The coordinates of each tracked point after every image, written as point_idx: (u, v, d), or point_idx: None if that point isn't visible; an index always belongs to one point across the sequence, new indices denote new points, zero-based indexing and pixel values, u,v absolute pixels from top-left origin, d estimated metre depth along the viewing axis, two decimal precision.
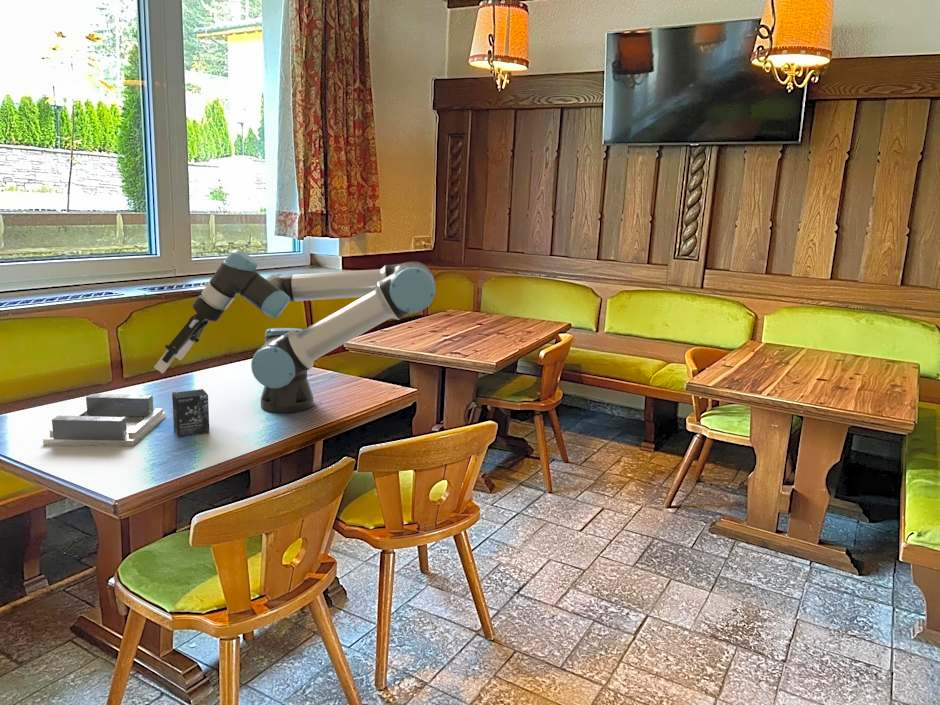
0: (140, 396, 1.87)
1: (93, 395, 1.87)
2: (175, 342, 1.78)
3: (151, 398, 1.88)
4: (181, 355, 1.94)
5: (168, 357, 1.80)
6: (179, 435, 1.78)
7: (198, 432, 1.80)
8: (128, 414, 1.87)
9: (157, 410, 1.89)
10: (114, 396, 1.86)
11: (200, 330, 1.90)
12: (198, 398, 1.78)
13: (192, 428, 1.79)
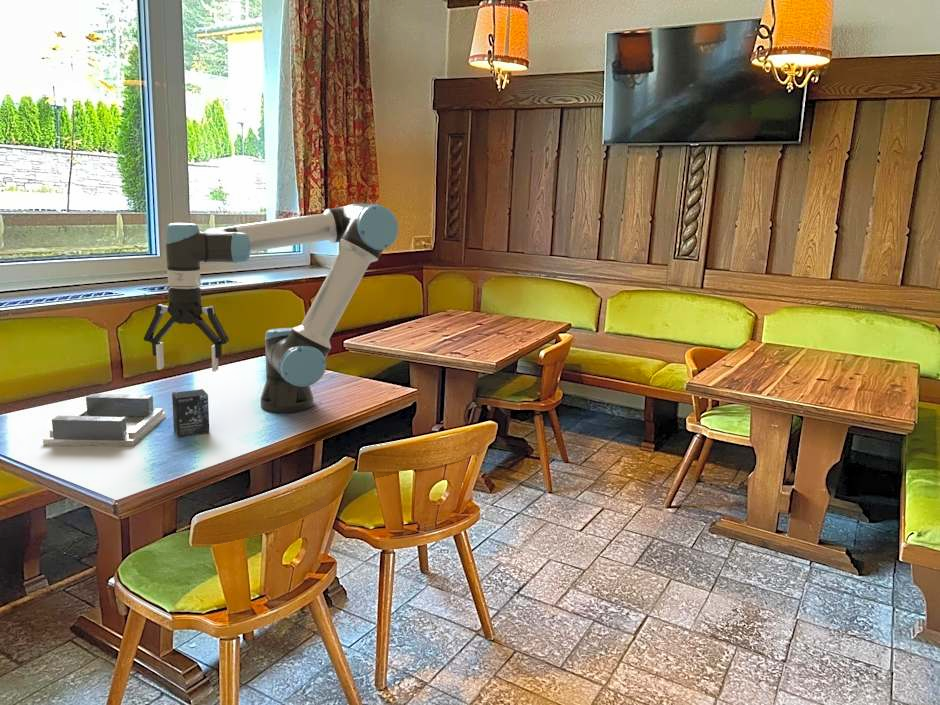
0: (140, 396, 1.87)
1: (93, 395, 1.87)
2: (223, 333, 1.76)
3: (151, 398, 1.88)
4: (162, 361, 1.78)
5: (221, 351, 1.78)
6: (179, 435, 1.78)
7: (198, 432, 1.80)
8: (128, 414, 1.87)
9: (157, 410, 1.89)
10: (114, 396, 1.86)
11: (175, 322, 1.77)
12: (197, 398, 1.78)
13: (192, 428, 1.79)
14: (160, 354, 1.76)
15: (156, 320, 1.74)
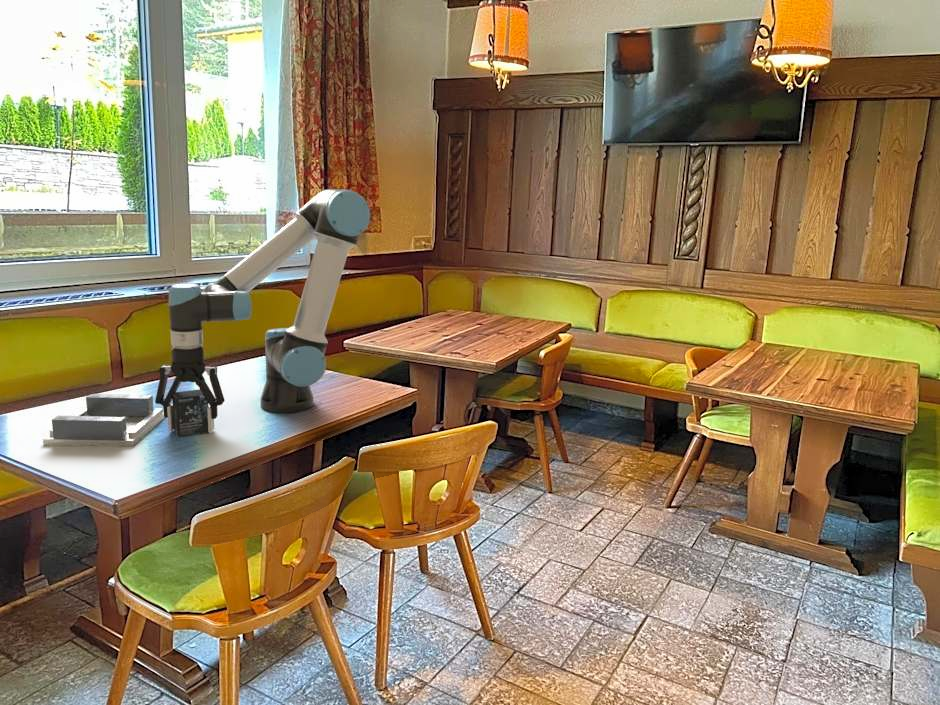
0: (140, 396, 1.87)
1: (93, 395, 1.87)
2: (220, 394, 1.80)
3: (151, 398, 1.88)
4: None
5: (216, 411, 1.82)
6: (179, 435, 1.78)
7: (198, 432, 1.80)
8: (128, 414, 1.87)
9: (157, 410, 1.89)
10: (114, 396, 1.86)
11: (181, 381, 1.80)
12: (198, 398, 1.78)
13: (192, 428, 1.79)
14: (171, 416, 1.80)
15: (163, 382, 1.77)
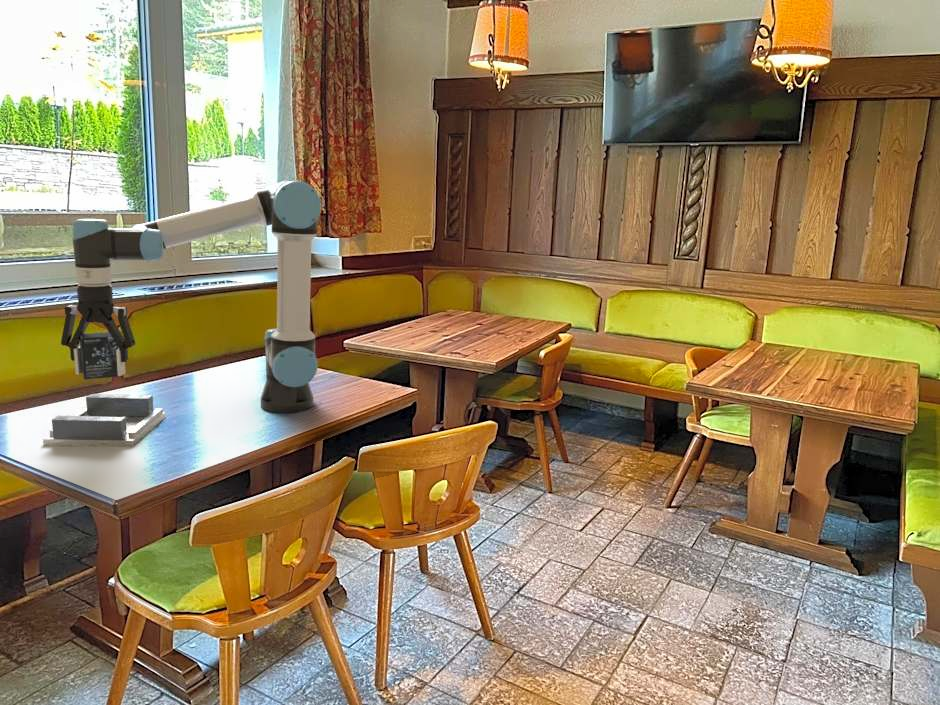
0: (140, 396, 1.87)
1: (93, 395, 1.87)
2: (130, 336, 1.72)
3: (151, 398, 1.88)
4: None
5: (127, 354, 1.74)
6: (85, 378, 1.70)
7: (107, 376, 1.73)
8: (128, 414, 1.87)
9: (157, 410, 1.89)
10: (114, 396, 1.86)
11: (89, 322, 1.72)
12: (105, 339, 1.70)
13: (100, 371, 1.71)
14: (79, 359, 1.72)
15: (68, 322, 1.69)
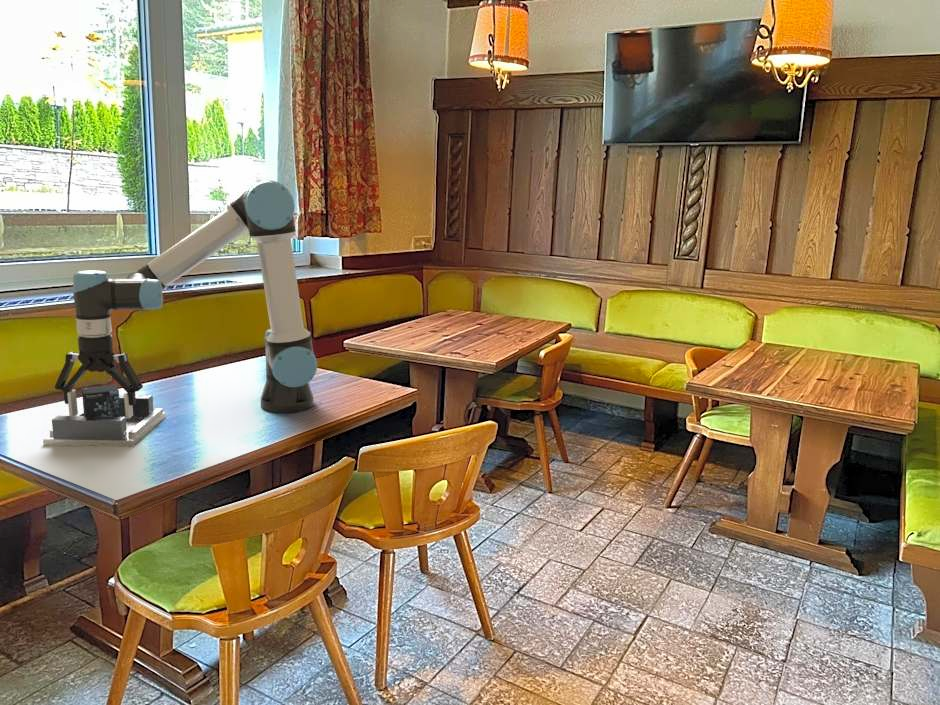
0: (140, 396, 1.87)
1: None
2: (136, 380, 1.75)
3: (151, 398, 1.88)
4: (76, 409, 1.77)
5: (134, 397, 1.76)
6: None
7: None
8: None
9: (157, 410, 1.89)
10: None
11: (87, 369, 1.75)
12: (107, 393, 1.74)
13: None
14: (72, 402, 1.75)
15: (67, 368, 1.72)
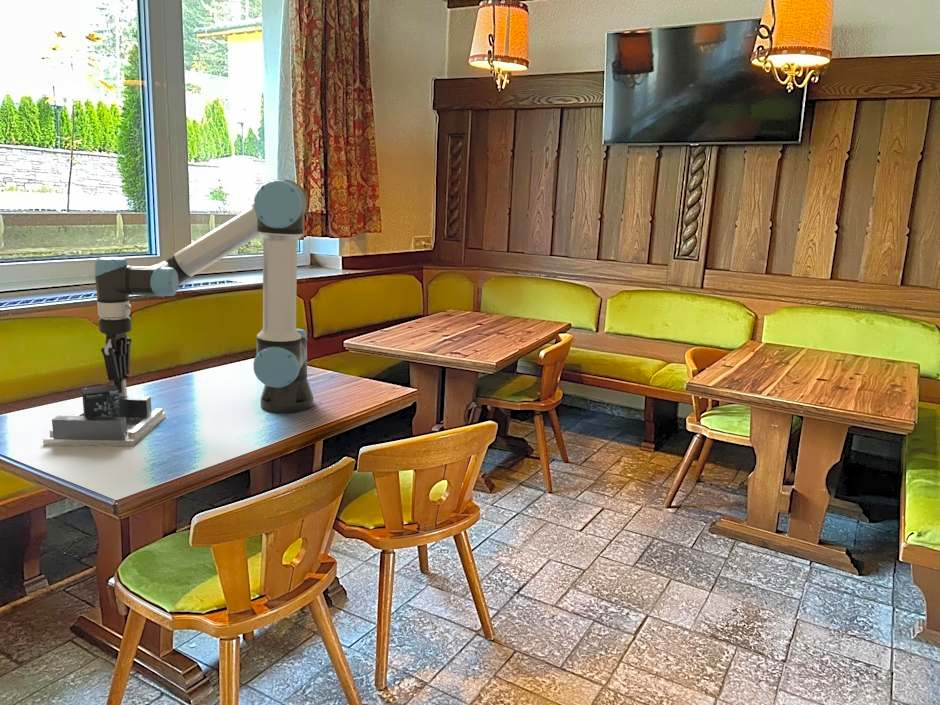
0: (138, 398, 1.86)
1: None
2: None
3: (149, 400, 1.87)
4: None
5: None
6: None
7: None
8: (126, 415, 1.85)
9: (157, 410, 1.89)
10: None
11: None
12: (107, 393, 1.74)
13: None
14: None
15: (115, 359, 1.81)
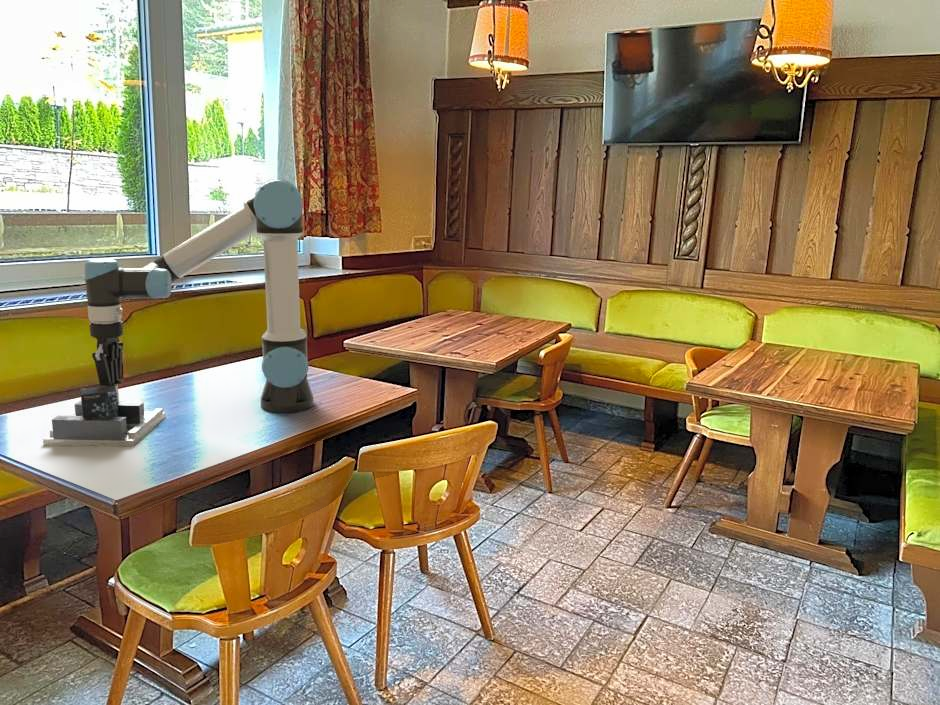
0: (130, 403, 1.81)
1: None
2: None
3: (142, 405, 1.82)
4: None
5: None
6: None
7: None
8: None
9: (157, 410, 1.89)
10: None
11: None
12: (105, 394, 1.73)
13: None
14: None
15: (107, 364, 1.76)
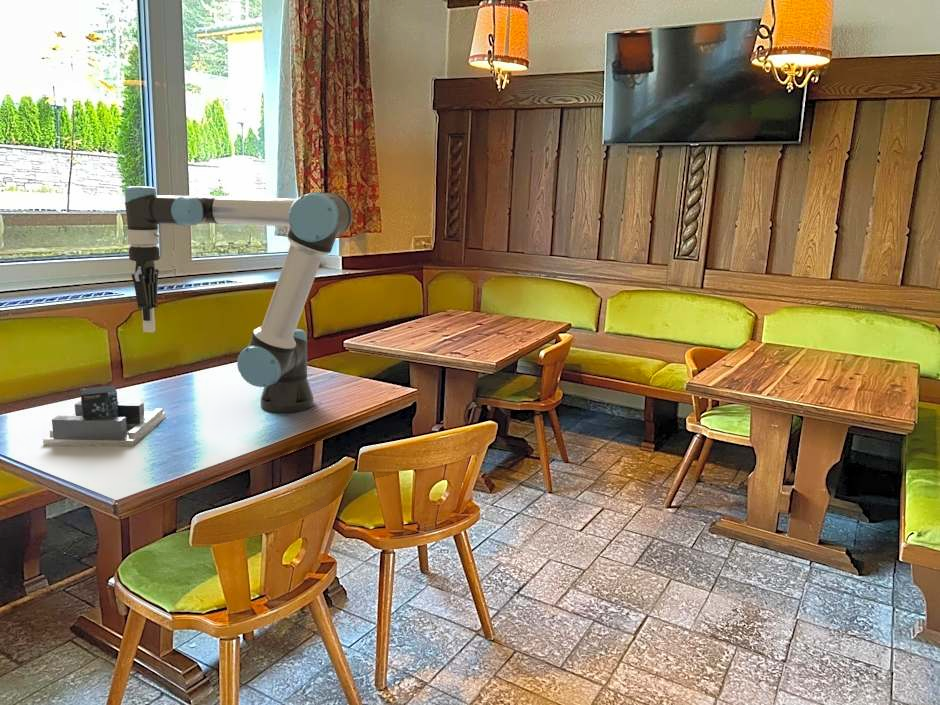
0: (130, 403, 1.81)
1: None
2: None
3: (142, 405, 1.82)
4: None
5: None
6: None
7: None
8: None
9: (157, 410, 1.89)
10: None
11: None
12: (105, 394, 1.73)
13: None
14: None
15: (145, 286, 1.86)
